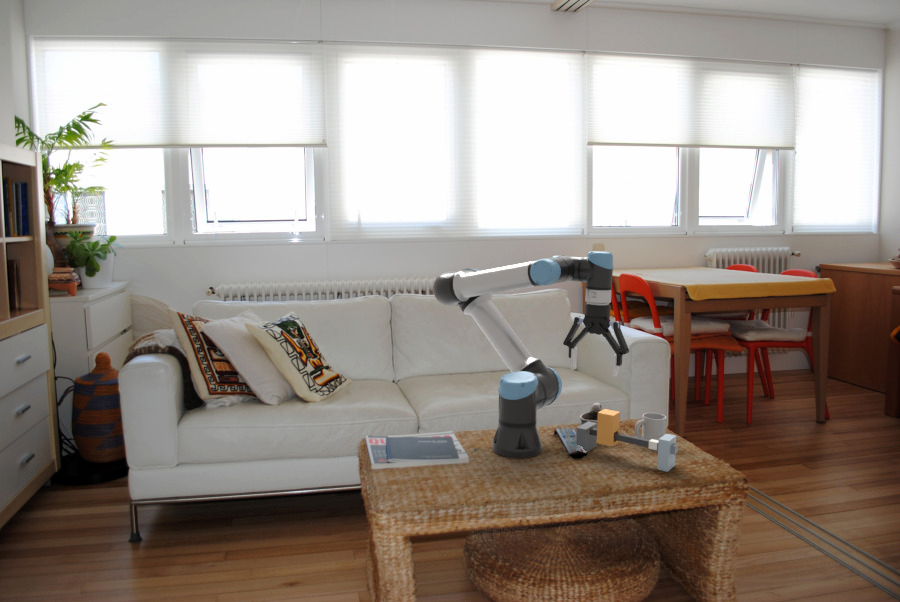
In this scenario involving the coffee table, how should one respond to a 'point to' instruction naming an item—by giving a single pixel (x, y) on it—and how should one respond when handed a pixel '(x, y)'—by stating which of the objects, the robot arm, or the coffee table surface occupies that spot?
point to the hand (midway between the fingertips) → (594, 372)
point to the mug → (591, 414)
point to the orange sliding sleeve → (607, 427)
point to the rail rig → (664, 445)
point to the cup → (651, 426)
